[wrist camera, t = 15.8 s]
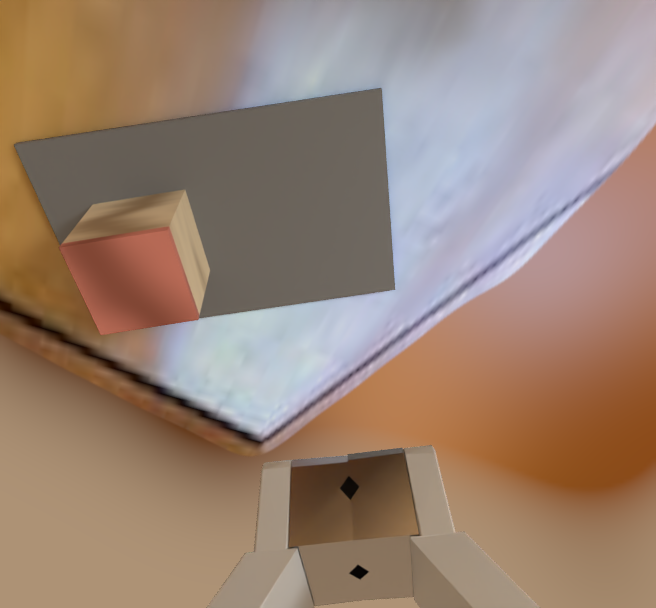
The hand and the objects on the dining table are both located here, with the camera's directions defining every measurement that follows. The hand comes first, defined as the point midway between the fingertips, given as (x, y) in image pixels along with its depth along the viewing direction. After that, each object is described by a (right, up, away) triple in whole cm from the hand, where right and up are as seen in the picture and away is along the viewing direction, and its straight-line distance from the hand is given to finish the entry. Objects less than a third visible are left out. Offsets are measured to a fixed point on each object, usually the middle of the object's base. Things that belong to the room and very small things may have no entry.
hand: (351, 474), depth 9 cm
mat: (-7, +8, +26) cm, 28 cm away
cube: (-12, +4, +20) cm, 24 cm away
